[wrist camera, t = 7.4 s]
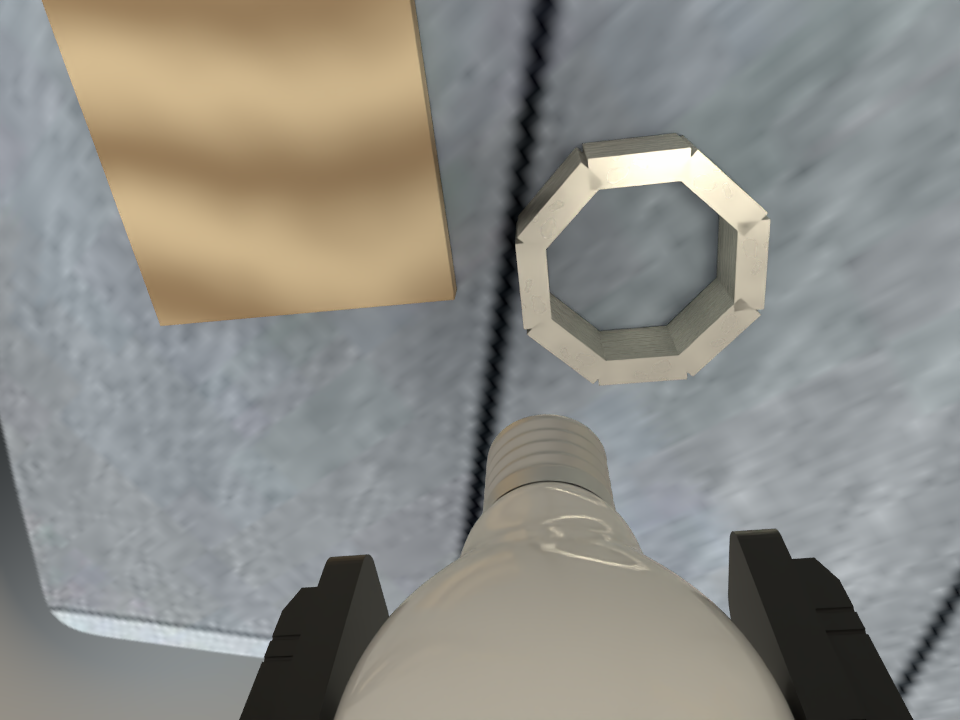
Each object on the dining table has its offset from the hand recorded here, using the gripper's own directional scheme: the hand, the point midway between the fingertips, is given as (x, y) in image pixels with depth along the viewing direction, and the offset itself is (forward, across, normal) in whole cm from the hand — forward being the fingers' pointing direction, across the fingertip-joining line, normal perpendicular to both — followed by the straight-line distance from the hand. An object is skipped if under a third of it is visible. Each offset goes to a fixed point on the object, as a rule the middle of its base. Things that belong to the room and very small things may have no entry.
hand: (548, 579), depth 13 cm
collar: (+21, -4, +2) cm, 21 cm away
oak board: (+21, +11, -5) cm, 24 cm away
